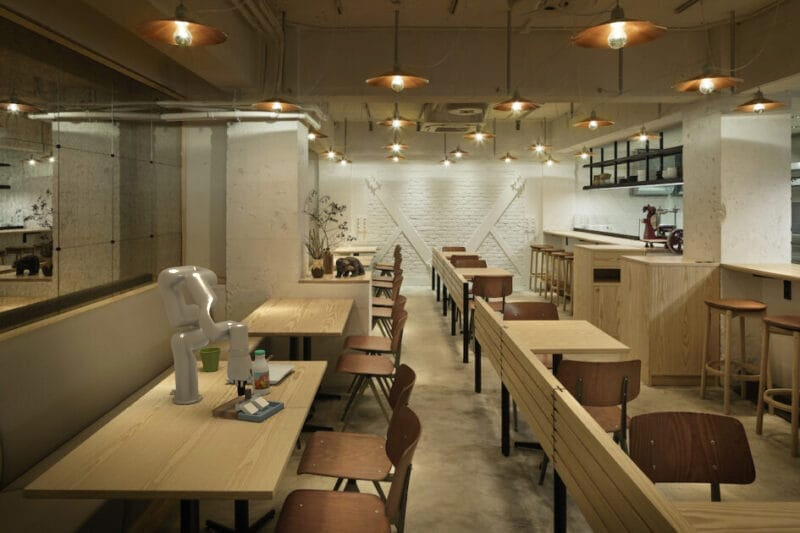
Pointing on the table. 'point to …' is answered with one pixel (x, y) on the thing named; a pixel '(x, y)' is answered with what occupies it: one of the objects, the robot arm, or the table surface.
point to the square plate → (275, 372)
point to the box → (262, 412)
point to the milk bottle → (260, 374)
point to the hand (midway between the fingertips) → (241, 395)
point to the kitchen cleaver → (269, 358)
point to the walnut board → (228, 409)
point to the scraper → (247, 399)
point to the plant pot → (210, 358)
